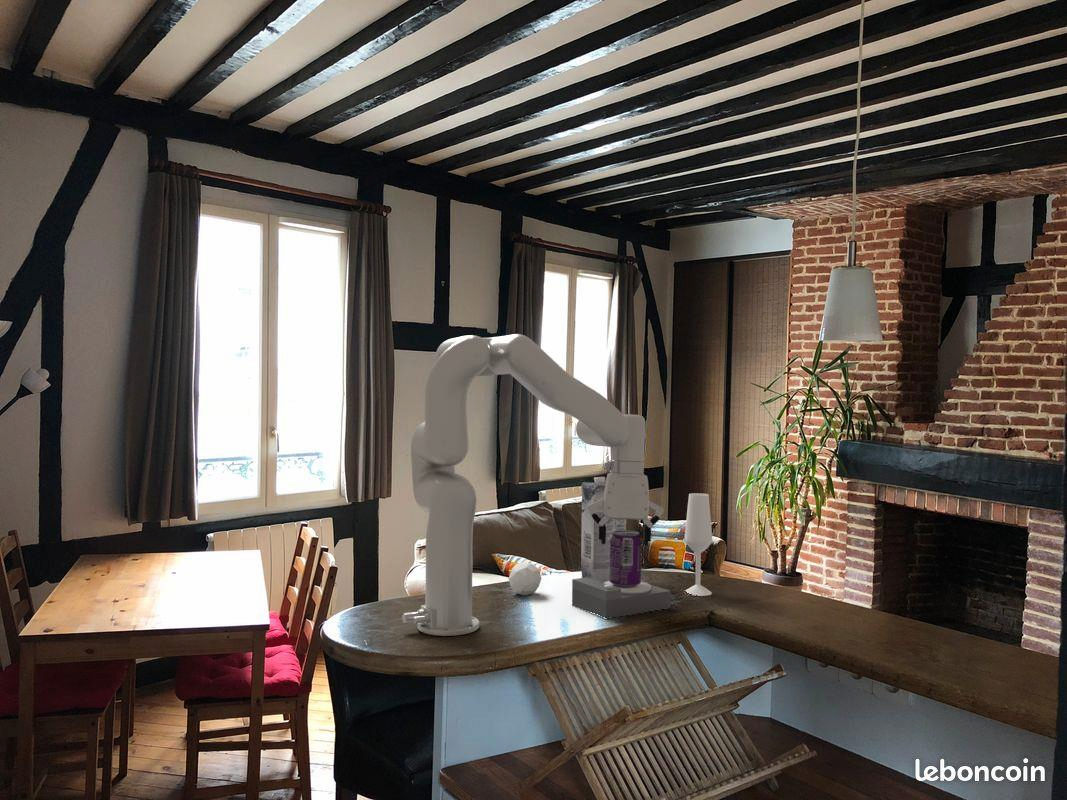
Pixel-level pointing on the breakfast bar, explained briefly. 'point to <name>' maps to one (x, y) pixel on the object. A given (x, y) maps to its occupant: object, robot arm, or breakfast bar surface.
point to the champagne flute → (698, 534)
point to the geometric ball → (525, 578)
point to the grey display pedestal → (617, 598)
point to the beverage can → (625, 558)
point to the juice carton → (596, 534)
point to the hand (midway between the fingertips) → (624, 543)
